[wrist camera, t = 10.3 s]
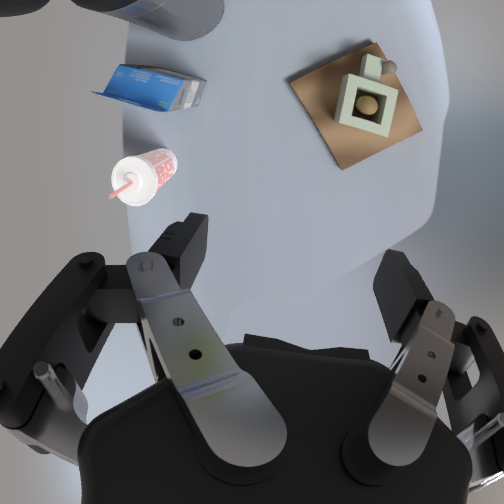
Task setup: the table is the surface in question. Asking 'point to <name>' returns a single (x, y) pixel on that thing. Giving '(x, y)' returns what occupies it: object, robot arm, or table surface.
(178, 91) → the label tape box
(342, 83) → the square ring with handle
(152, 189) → the beverage cup
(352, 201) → the table surface
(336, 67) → the locating plate
